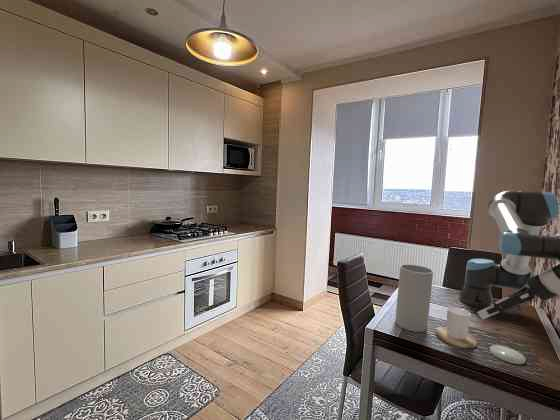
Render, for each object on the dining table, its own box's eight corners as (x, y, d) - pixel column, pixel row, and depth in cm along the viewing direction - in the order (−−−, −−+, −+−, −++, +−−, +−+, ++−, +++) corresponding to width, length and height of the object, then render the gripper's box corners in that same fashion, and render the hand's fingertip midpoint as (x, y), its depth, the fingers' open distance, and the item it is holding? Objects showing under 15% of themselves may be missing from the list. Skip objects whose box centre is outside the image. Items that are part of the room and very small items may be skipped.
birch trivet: (452, 327, 122) (452, 324, 122) (485, 345, 109) (485, 342, 109) (427, 331, 117) (427, 328, 117) (458, 350, 104) (459, 347, 104)
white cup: (440, 330, 117) (443, 306, 116) (458, 330, 117) (461, 306, 116) (453, 340, 109) (456, 315, 108) (472, 340, 109) (475, 315, 109)
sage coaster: (501, 346, 109) (501, 343, 109) (531, 361, 100) (532, 359, 100) (483, 349, 106) (483, 347, 106) (513, 366, 96) (513, 363, 96)
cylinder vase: (411, 317, 130) (416, 263, 127) (434, 331, 118) (440, 272, 116) (388, 320, 126) (393, 264, 124) (409, 334, 114) (415, 273, 112)
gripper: (548, 303, 81) (481, 330, 95) (566, 288, 96) (506, 313, 110) (527, 280, 85) (465, 308, 99) (547, 268, 100) (491, 295, 113)
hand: (487, 311), depth 104 cm, fingers open, 13 cm apart
